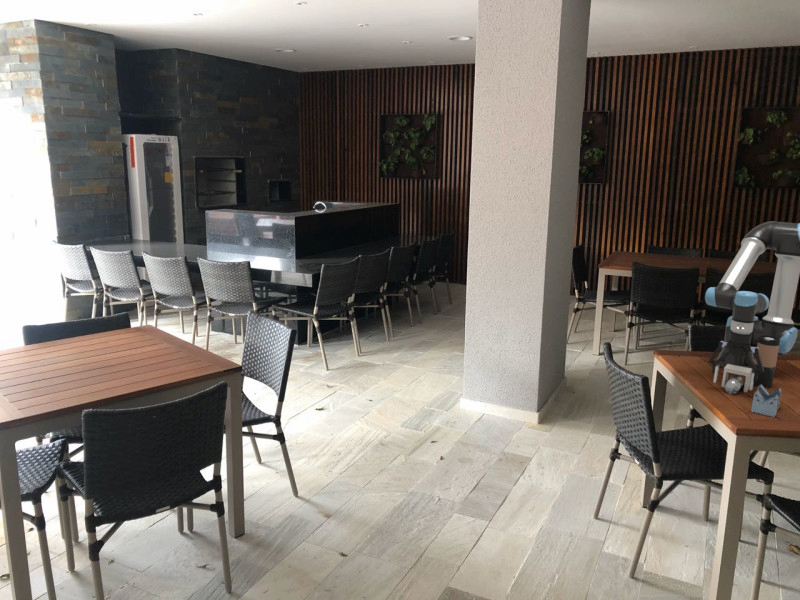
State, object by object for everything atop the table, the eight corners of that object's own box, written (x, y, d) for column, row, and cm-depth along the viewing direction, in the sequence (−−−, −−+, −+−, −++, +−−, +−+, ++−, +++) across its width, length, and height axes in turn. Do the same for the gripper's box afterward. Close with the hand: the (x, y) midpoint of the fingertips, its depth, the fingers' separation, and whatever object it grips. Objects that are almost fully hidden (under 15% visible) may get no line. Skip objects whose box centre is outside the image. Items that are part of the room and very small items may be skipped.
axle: (728, 386, 260) (730, 374, 259) (742, 388, 257) (744, 376, 256) (723, 392, 252) (725, 380, 251) (738, 395, 249) (739, 383, 248)
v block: (756, 402, 242) (759, 383, 240) (778, 407, 238) (781, 388, 236) (751, 411, 232) (754, 392, 231) (774, 417, 228) (777, 397, 226)
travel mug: (765, 382, 266) (773, 335, 262) (776, 388, 259) (784, 340, 255) (747, 381, 266) (754, 334, 262) (757, 387, 258) (765, 339, 254)
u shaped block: (724, 382, 264) (727, 363, 262) (749, 387, 258) (752, 368, 257) (721, 387, 258) (724, 367, 256) (746, 392, 253) (749, 372, 251)
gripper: (704, 327, 251) (697, 380, 255) (775, 339, 237) (766, 395, 241) (708, 324, 256) (701, 376, 261) (778, 335, 243) (769, 390, 247)
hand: (732, 385), depth 251 cm, fingers open, 12 cm apart
